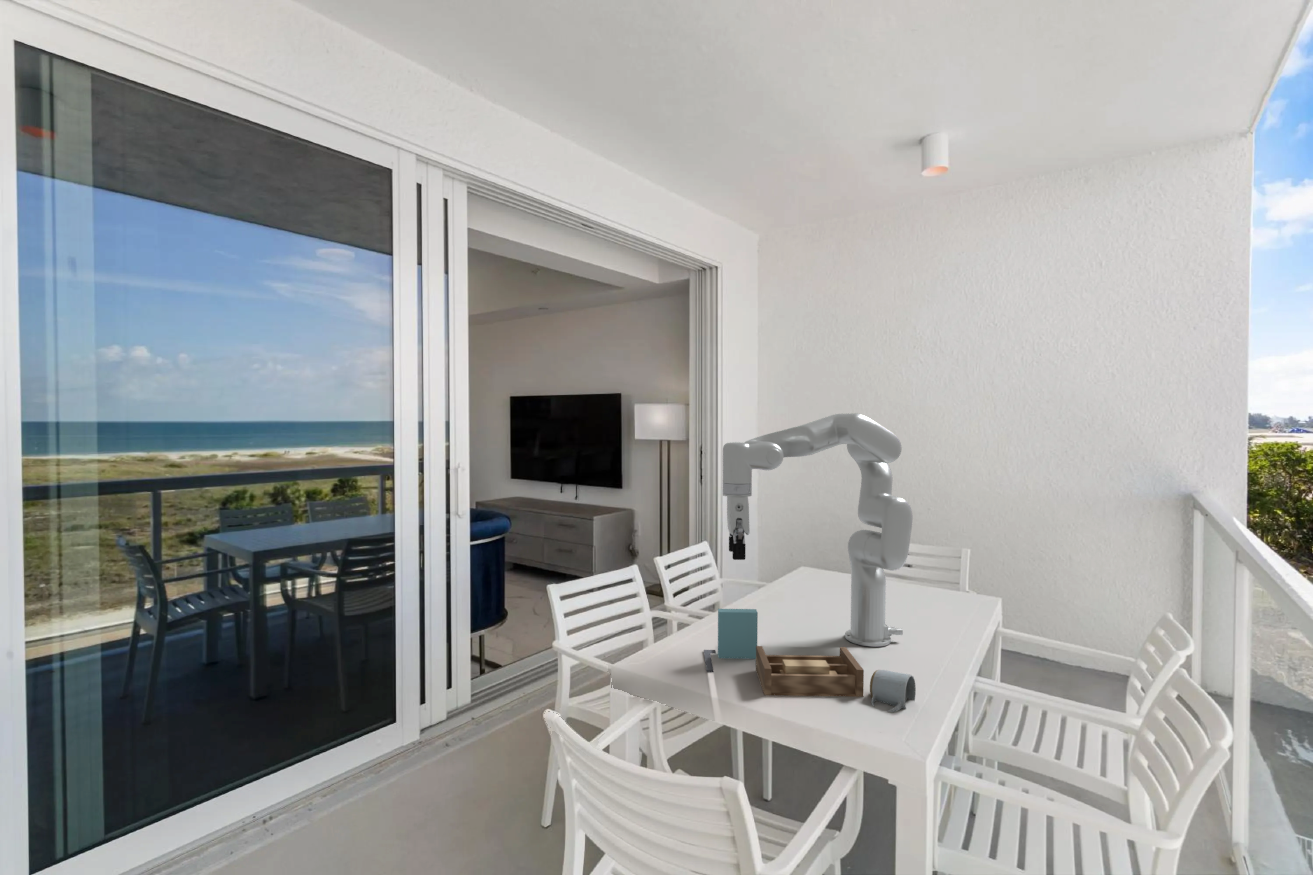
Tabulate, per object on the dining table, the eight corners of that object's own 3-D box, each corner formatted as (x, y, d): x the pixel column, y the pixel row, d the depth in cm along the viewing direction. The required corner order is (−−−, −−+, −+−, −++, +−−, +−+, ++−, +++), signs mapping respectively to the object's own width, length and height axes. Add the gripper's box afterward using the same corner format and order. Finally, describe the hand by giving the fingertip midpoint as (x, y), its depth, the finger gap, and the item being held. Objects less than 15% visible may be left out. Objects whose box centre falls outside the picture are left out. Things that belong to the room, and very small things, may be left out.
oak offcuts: (835, 683, 144) (835, 660, 144) (839, 690, 140) (839, 666, 140) (779, 682, 145) (779, 659, 144) (782, 689, 141) (782, 665, 140)
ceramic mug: (879, 694, 142) (879, 661, 142) (916, 704, 137) (916, 670, 136) (862, 711, 134) (862, 677, 133) (901, 723, 128) (901, 687, 128)
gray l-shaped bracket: (762, 652, 168) (762, 650, 168) (770, 672, 154) (770, 670, 154) (703, 651, 168) (703, 649, 168) (706, 672, 154) (706, 670, 154)
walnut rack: (845, 677, 151) (845, 647, 151) (863, 703, 137) (863, 669, 137) (755, 675, 152) (756, 645, 152) (764, 701, 138) (764, 668, 138)
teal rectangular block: (755, 657, 162) (756, 609, 162) (757, 662, 159) (757, 612, 159) (717, 657, 163) (718, 608, 162) (718, 661, 160) (718, 612, 159)
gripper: (756, 493, 151) (755, 562, 152) (747, 486, 169) (747, 548, 169) (725, 493, 151) (725, 562, 152) (720, 486, 169) (719, 548, 169)
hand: (736, 555), depth 160 cm, fingers open, 9 cm apart
